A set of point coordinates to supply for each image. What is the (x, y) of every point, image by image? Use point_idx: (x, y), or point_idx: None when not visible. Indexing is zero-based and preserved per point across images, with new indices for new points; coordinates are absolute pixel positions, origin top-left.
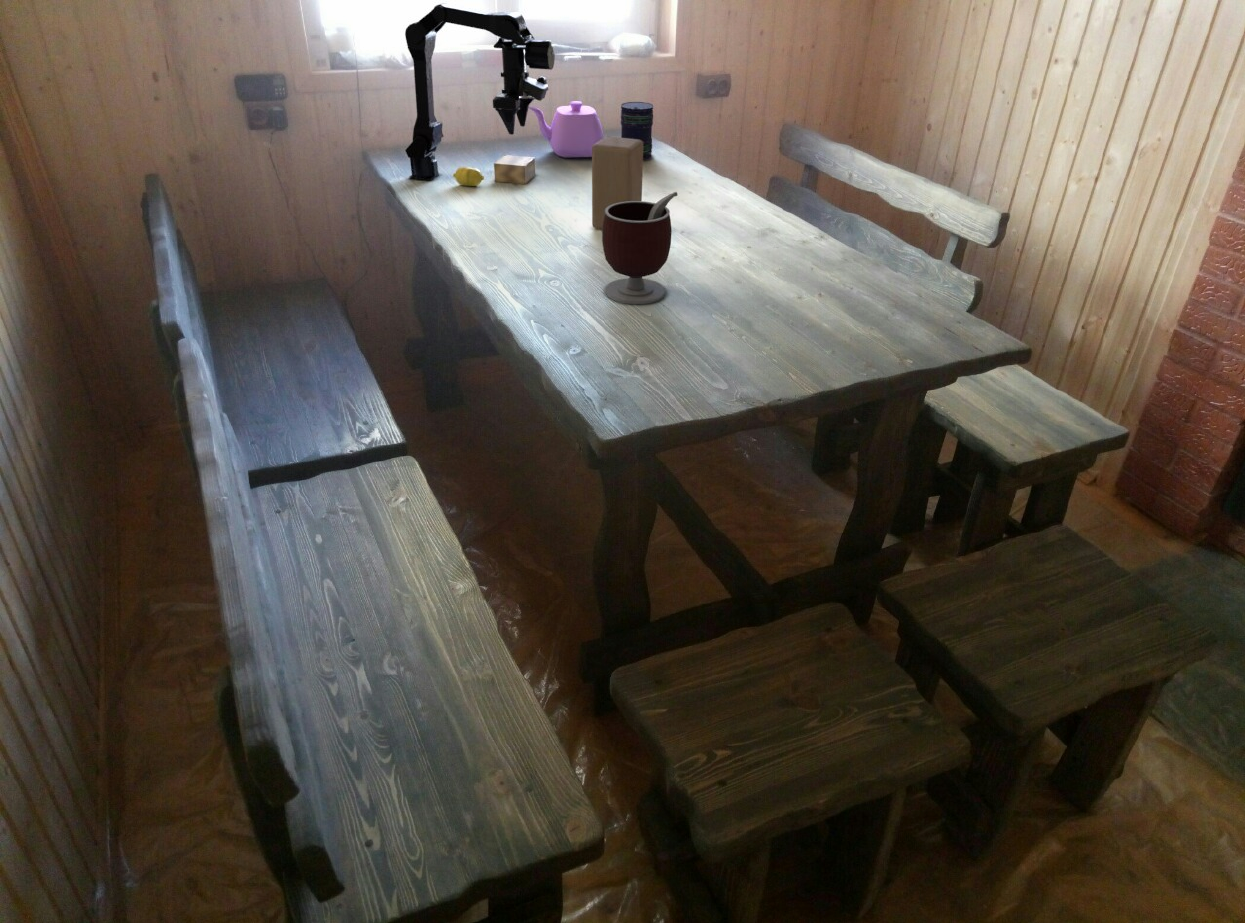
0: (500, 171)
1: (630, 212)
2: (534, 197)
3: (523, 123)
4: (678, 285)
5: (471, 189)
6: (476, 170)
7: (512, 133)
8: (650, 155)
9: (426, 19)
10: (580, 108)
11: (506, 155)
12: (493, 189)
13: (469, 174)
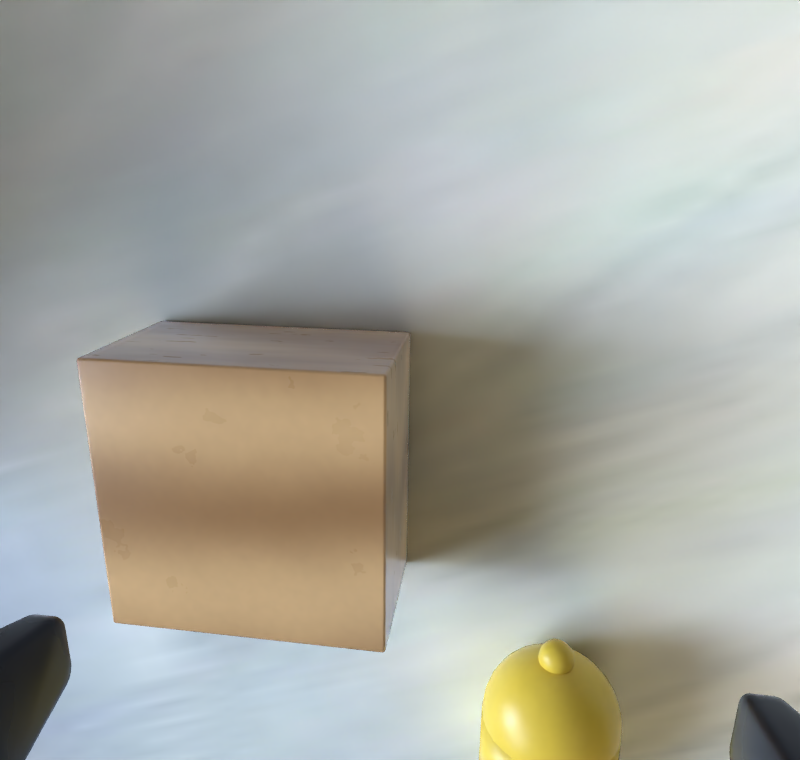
0: (395, 564)
1: None
2: (779, 144)
3: (23, 663)
4: None
5: (632, 666)
6: (571, 735)
7: (792, 720)
8: None
9: None
10: None
11: (121, 606)
12: (603, 528)
13: (617, 758)
